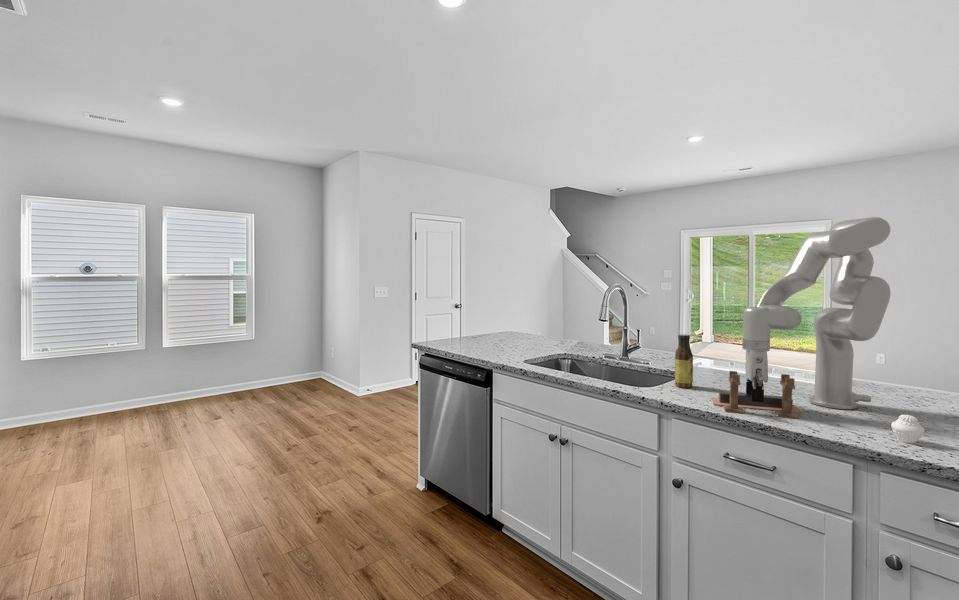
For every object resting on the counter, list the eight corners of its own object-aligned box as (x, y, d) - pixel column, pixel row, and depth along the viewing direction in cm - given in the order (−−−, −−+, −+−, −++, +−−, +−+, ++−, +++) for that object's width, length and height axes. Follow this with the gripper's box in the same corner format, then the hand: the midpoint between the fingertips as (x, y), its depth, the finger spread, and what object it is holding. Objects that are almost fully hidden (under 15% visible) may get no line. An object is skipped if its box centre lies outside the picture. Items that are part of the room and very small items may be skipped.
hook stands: (793, 413, 136) (794, 375, 135) (799, 419, 130) (800, 379, 129) (723, 407, 143) (724, 370, 142) (725, 412, 137) (726, 374, 136)
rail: (789, 406, 141) (790, 397, 141) (792, 409, 138) (792, 399, 138) (719, 400, 149) (719, 391, 148) (720, 402, 146) (720, 393, 146)
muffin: (927, 442, 112) (929, 415, 111) (918, 447, 109) (920, 419, 108) (895, 435, 117) (896, 409, 117) (886, 439, 114) (887, 413, 114)
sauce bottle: (694, 389, 165) (695, 336, 164) (676, 388, 166) (677, 335, 165) (690, 384, 171) (691, 333, 170) (672, 384, 173) (673, 333, 171)
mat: (794, 406, 143) (794, 404, 143) (802, 413, 136) (802, 412, 135) (711, 398, 152) (711, 397, 152) (714, 405, 144) (714, 404, 144)
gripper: (776, 350, 133) (774, 406, 134) (763, 341, 149) (762, 392, 150) (747, 348, 136) (746, 403, 137) (738, 340, 152) (736, 390, 153)
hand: (754, 397), depth 144 cm, fingers open, 9 cm apart
